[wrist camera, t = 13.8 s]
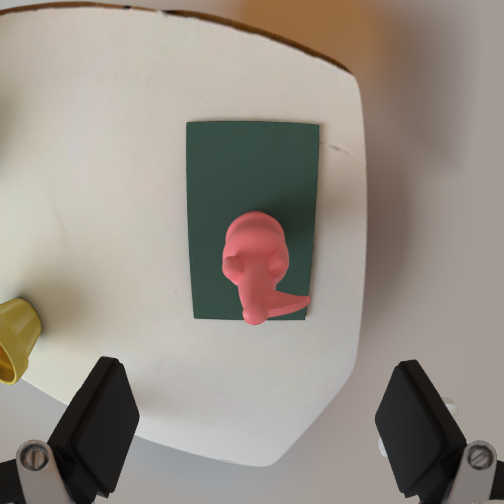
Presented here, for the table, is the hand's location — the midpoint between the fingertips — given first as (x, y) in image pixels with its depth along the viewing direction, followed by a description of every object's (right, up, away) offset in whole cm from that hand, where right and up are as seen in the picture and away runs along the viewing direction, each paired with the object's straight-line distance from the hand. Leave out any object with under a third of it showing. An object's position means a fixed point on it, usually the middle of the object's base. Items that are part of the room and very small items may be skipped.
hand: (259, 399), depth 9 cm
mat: (0, +7, +19) cm, 21 cm away
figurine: (0, +7, +19) cm, 20 cm away
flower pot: (-33, -4, +24) cm, 41 cm away
